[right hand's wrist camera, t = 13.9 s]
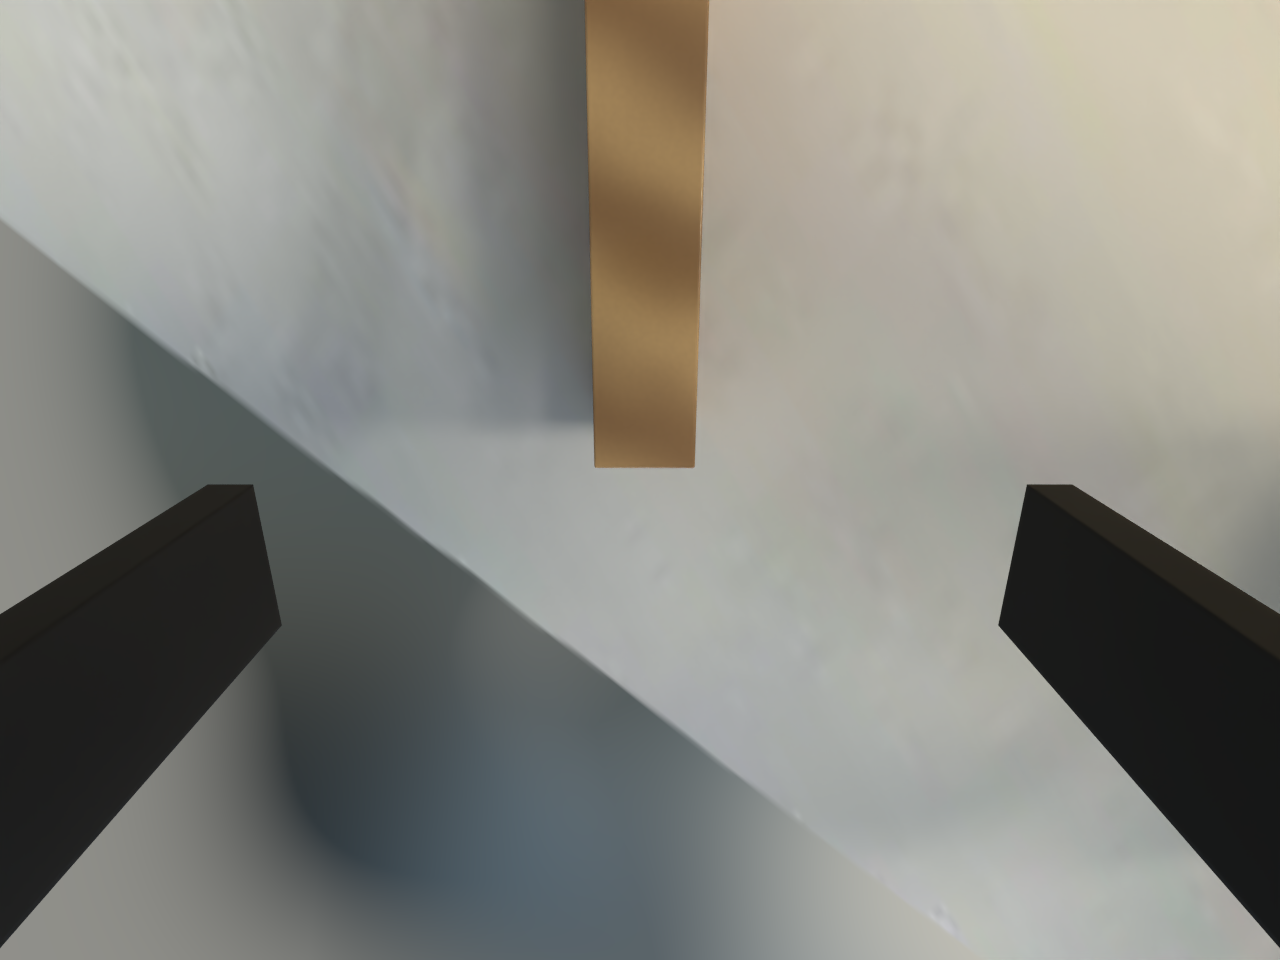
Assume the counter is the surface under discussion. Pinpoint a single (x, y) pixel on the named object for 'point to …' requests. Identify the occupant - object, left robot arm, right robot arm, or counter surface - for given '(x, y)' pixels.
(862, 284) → the counter surface
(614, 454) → the post
